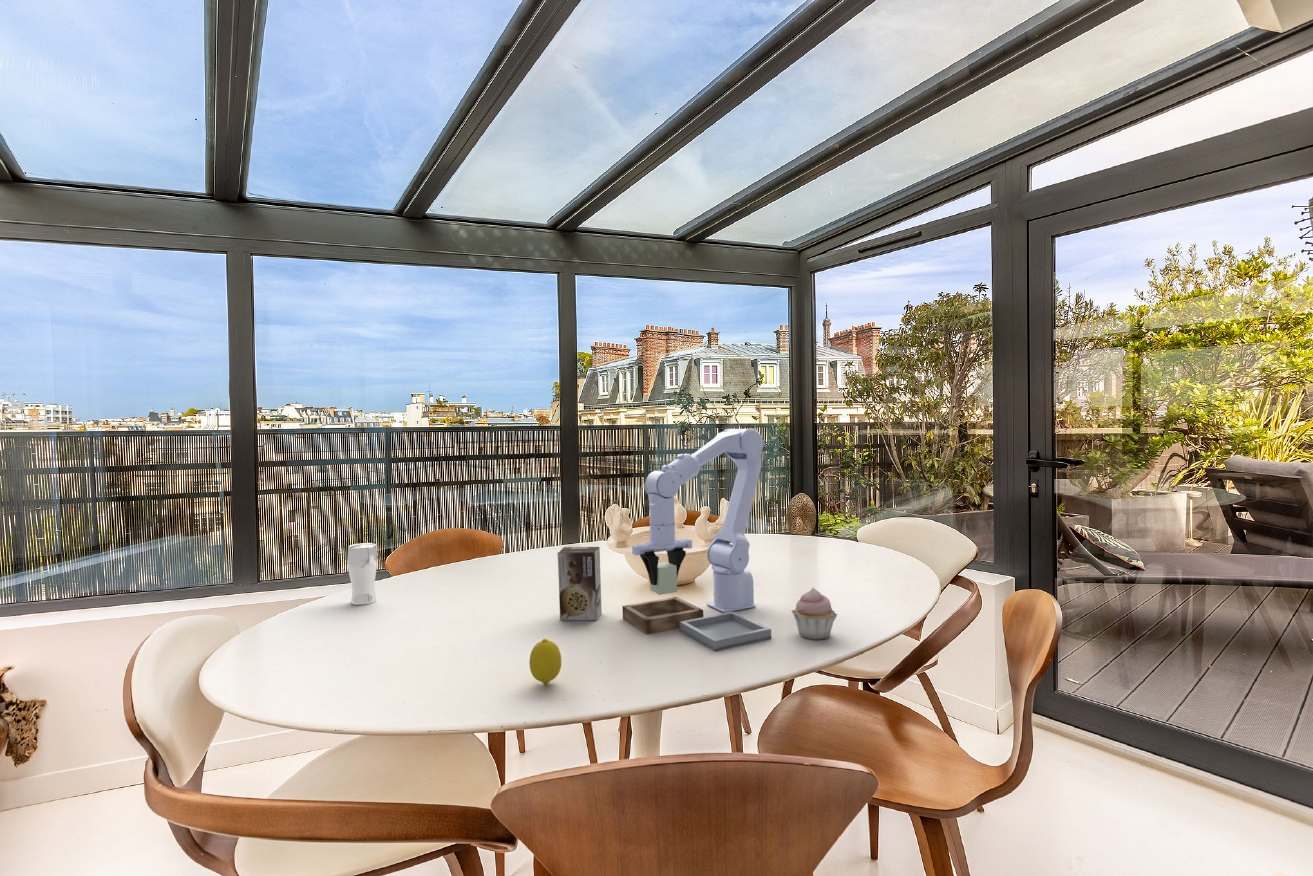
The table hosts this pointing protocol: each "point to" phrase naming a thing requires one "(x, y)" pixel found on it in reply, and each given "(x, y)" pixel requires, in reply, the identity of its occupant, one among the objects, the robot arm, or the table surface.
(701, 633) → the tray
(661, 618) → the frame
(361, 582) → the beer glass
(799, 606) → the cupcake
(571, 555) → the coffee box
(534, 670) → the lemon
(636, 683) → the table surface
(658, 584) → the block
